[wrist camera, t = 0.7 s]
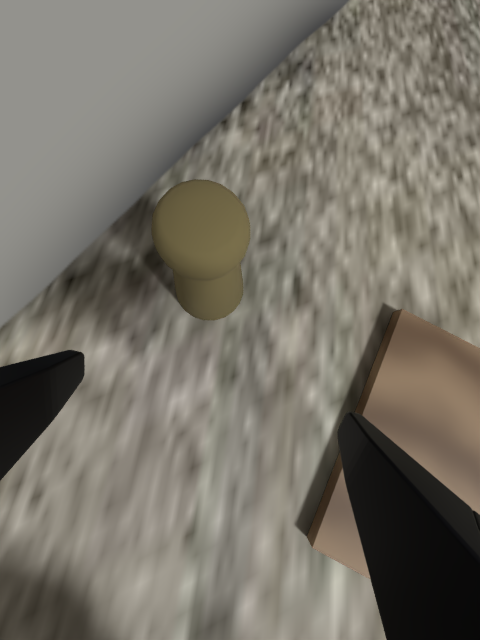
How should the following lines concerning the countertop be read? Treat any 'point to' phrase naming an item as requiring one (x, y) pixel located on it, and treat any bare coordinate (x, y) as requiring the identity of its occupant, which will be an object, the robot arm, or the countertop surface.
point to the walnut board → (412, 424)
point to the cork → (203, 245)
